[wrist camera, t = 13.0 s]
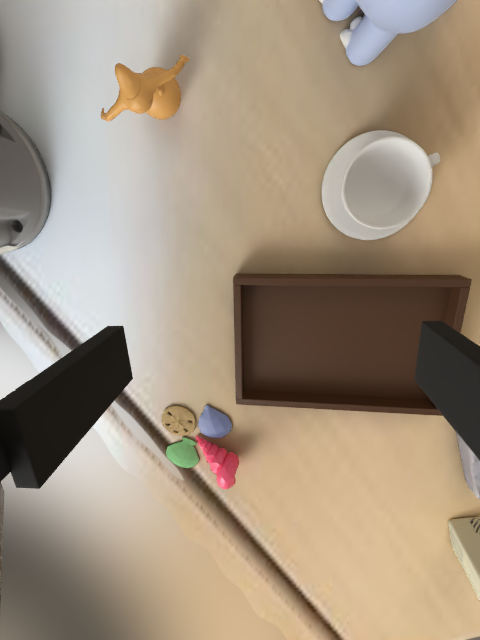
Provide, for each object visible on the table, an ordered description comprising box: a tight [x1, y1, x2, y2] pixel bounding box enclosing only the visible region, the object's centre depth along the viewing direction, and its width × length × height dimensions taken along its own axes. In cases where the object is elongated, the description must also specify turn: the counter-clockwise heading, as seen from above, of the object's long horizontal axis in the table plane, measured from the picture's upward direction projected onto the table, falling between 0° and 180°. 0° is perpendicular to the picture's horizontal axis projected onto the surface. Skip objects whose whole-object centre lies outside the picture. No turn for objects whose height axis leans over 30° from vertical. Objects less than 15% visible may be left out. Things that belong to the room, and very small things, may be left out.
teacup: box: [322, 130, 440, 240], centre depth 30 cm, size 10×10×5 cm
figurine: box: [101, 55, 190, 121], centre depth 26 cm, size 8×6×12 cm
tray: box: [233, 274, 471, 416], centre depth 36 cm, size 16×24×2 cm, turn 91°
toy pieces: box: [162, 405, 239, 489], centre depth 42 cm, size 12×11×4 cm
